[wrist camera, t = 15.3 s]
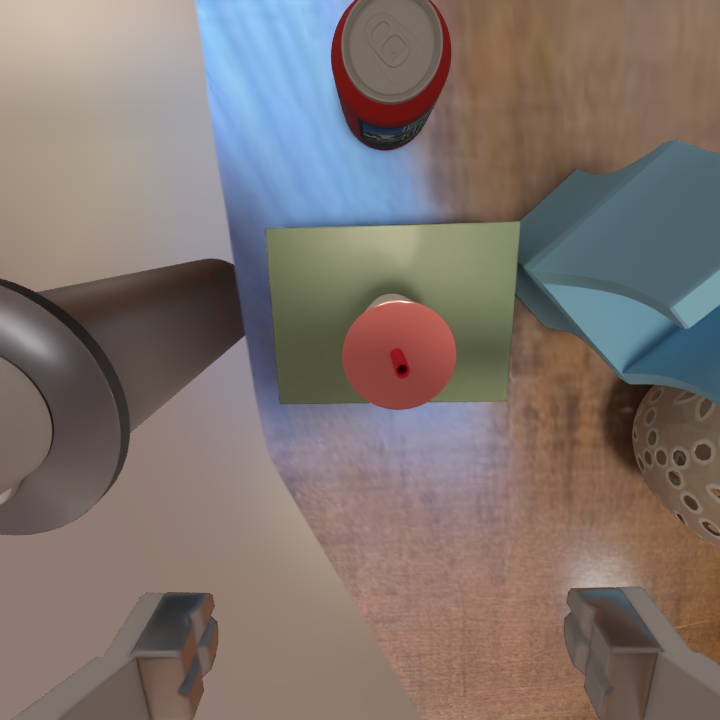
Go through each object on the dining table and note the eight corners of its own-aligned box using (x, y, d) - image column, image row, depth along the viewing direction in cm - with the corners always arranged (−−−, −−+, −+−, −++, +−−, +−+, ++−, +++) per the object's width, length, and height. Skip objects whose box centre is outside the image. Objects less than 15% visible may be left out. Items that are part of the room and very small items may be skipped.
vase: (481, 256, 38) (667, 308, 14) (576, 168, 36) (992, 49, 12) (553, 337, 40) (826, 506, 16) (648, 258, 37) (1133, 315, 13)
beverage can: (383, 170, 36) (388, 145, 25) (325, 103, 35) (301, 44, 23) (447, 105, 35) (483, 46, 23) (388, 33, 33) (395, -68, 22)
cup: (382, 261, 28) (388, 285, 17) (448, 309, 29) (497, 363, 18) (335, 328, 30) (311, 393, 18) (400, 372, 30) (416, 461, 19)
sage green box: (301, 362, 41) (279, 404, 31) (292, 227, 38) (264, 228, 28) (475, 360, 40) (507, 401, 31) (483, 222, 37) (521, 221, 27)
